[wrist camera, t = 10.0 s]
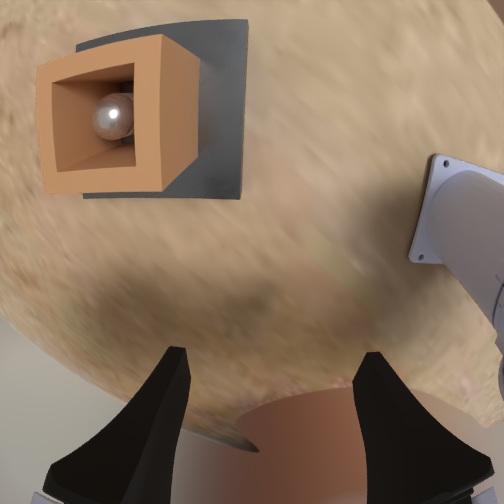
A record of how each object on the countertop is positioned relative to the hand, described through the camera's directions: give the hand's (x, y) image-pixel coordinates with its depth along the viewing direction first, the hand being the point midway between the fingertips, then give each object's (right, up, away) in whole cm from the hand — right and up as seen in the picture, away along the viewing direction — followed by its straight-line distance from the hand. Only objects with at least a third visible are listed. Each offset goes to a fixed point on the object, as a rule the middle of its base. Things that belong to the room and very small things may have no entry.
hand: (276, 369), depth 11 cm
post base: (-6, +13, +4) cm, 15 cm away
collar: (-6, +12, +2) cm, 14 cm away
